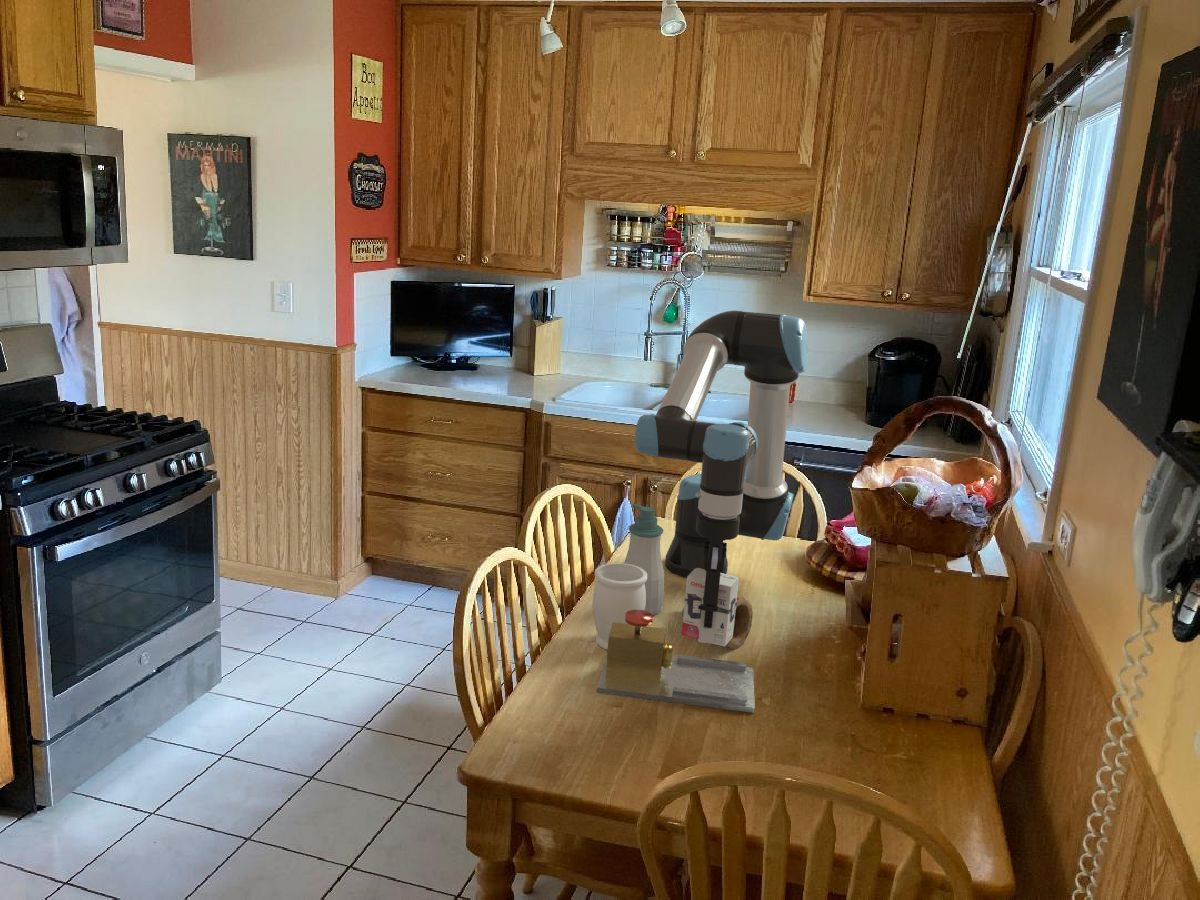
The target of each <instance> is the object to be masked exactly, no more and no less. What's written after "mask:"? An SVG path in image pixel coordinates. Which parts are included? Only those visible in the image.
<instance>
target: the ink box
mask: <svg viewBox="0 0 1200 900" xmlns="http://www.w3.org/2000/svg"><path fill="white" fill-rule="evenodd" d="M705 579H706V571H705V570H704V569H701V568H695V569H694V570H693V571H692V572H691V573H690V574H689V575H688V576H687V578H686V585H685V593H684V596H685V597H684V604H683V608H684V612H683V617H682V623H681V632H680V633H681V636H684V637H686V638H689V639H690V638H691V639H693V640H699V630H700V620H701V610H702V609H698V606H699V605H701V606H702V605H703V599H704V589H705ZM739 581H740V579H739V577H738V576H736V575H730V574H727V573H726V574H723V573H720V583H719V592H718V602H717V606H718V610H717V616H716V625H715V635H714V644H713V645H717V646H721V647H726V645H727V643H728V642H729V641H730V640H731V638H732V637H733V629H734V620H735V611H736V602H737V596H738V590H739V583H740V582H739Z"/></svg>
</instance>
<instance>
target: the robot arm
mask: <svg viewBox="0 0 1200 900" xmlns="http://www.w3.org/2000/svg"><path fill="white" fill-rule="evenodd" d="M808 342H809V341H808V330H807V326H806V323H805V321H804V320H803V319H802V318H800V317H797V316H792V315H791V316H790V315H786V314H777V313H776V314H775V313H764V312H753V311H752V312H751V311H742V310H727V311H724V312H720V313H718V314H715V315H713V316H710V317H709V318H707V319H706V320H704V321H702V322H701V323H700V324H699V325H698V326H696V327H695V328H694V329H693V330H692V331H691V333H689V335H688V337H687V338H686V340H685V342H684V345H683V349H682V354H683V358H682V359H681V363H679V366H678V368H677V370H676V372H675V374H674V376H673V378H672V381H671V382H670V384H669V386H668V388H667V391H666V393H665V396H664V397H663V399H662V401H661V403H660V405H659V406H658V407H659V408H658V409H657V411H656V414H654V413H651V414H643V415H641V416H640V417H639V418H638V419H637V422H636V426H635V431H634V446H635V449H636V451H637V452H638V453H640V454H644V455H648V456H654V457H655V458H666V459H673V460H681V461H687V462H688V461H689V462H692V463H700V464H701V473H696V474H691V475H688V476H685V477H684V478H683V479H682V480H681V481H680V483H679V487H678V494H677V497H676V498H677V503H676V517H675V526H674V527H675V529H674V536H673V538H672V540H671V543H670V545H669V547H668V550H667V551H666V554H665V559H664V567H665V569H666V570H667V571H668V572H669V573H671V574H673V575H674V576H678V577H681V578H685V579H687V576H688V575H689V574H690V573H691V572H692V571H693V570H694V569H695V568H701V569H704V570H705V571H706V579H705V589H704V599H703V605H702V606H701V605H699V606H698V609H702V610H701V620H700V630H699V640H698V639H697V640H698V643H703V644H713V645H715V644H714V635H715V625H716V616H717V610H718V606H717V602H718V592H719V583H720V573H723V574H727V573H728V566H729V564H728V563H729V562H728V558H727V550H728V549H727V546H728V545H727V544H728V542H724V541H731V540H734V539H735V538H737V537H738V536H742V537H747V538H754V539H760V540H762V541H764V540H768V541H779V540H781V539H782V538H783V535H784V532H785V530H786V528H787V527H786V526H787V523H788V520H789V514H790V512H791V511H790V510H791V507H792V504H793V500H794V493H792V492H790V491H788V483H787V482H786V481H785V480H784V479H783V467H784V456H785V447H786V446H785V445H786V434H787V425H788V424H787V423H788V416H789V415H788V413H789V403H790V394H791V393H790V392H791V391H790V390H791V386H792V384H793V383H795V382H796V381H797V380H799V374H801V373H805V371H806V369H807V365H808V364H807V363H808V349H809V347H808ZM725 365H733V366H739V367H744V375H743V376H744V377H745V378H746V379H747V381H749V382H750V385H749V386H750V387H749V388H750V389H749V401H748V411H747V412H748V413H747V423H745V422H741V421H736V422H729V423H715V422H706V421H699V420H697V419H698V417H699V415H700V412H701V410H702V408H703V405H704V402H705V400H706V398H707V396H708V393H709V392H710V389H711V388H712V387H711V386H712V385H713V383H714V379H715V377H716V375H717V373H718V372H719V371H720V370H721V369H723V368H724V367H725Z"/></svg>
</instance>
